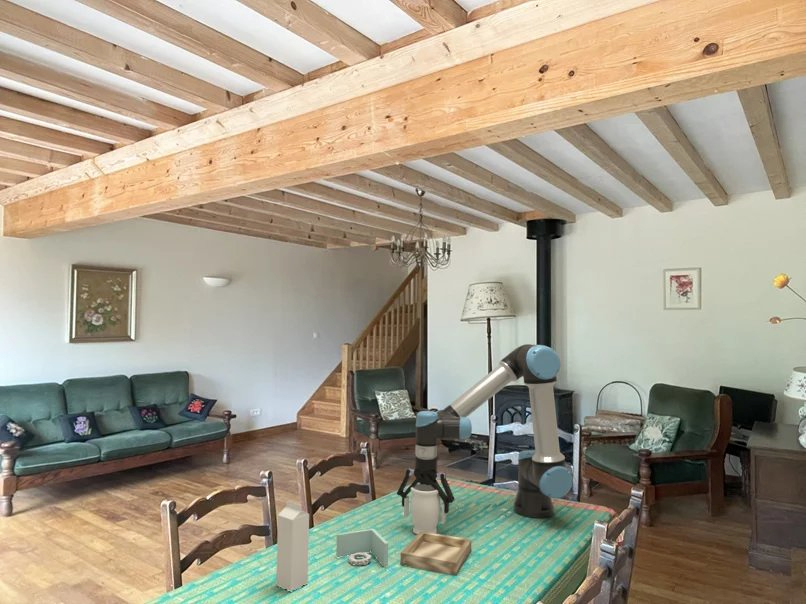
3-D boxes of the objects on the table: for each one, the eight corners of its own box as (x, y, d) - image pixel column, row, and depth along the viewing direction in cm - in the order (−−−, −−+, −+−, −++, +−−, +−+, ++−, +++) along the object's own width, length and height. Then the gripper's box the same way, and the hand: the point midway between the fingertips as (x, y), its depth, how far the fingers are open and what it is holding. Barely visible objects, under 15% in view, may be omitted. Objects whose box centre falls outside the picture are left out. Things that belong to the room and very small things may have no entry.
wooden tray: (471, 550, 166) (471, 539, 167) (456, 575, 150) (456, 562, 150) (420, 542, 173) (420, 531, 173) (400, 564, 156) (400, 552, 156)
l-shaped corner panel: (336, 559, 160) (336, 534, 161) (373, 552, 165) (373, 528, 166) (348, 576, 150) (349, 549, 150) (387, 569, 154) (388, 543, 155)
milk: (292, 578, 147) (295, 497, 148) (307, 584, 143) (310, 501, 144) (275, 586, 142) (278, 502, 143) (290, 593, 138) (293, 507, 139)
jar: (437, 539, 175) (438, 493, 176) (407, 536, 177) (408, 490, 178) (441, 527, 186) (442, 484, 186) (413, 524, 188) (413, 481, 189)
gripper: (388, 455, 184) (387, 517, 183) (458, 463, 175) (457, 528, 174) (396, 450, 191) (395, 510, 190) (463, 458, 182) (462, 521, 181)
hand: (424, 519), depth 182 cm, fingers open, 13 cm apart
